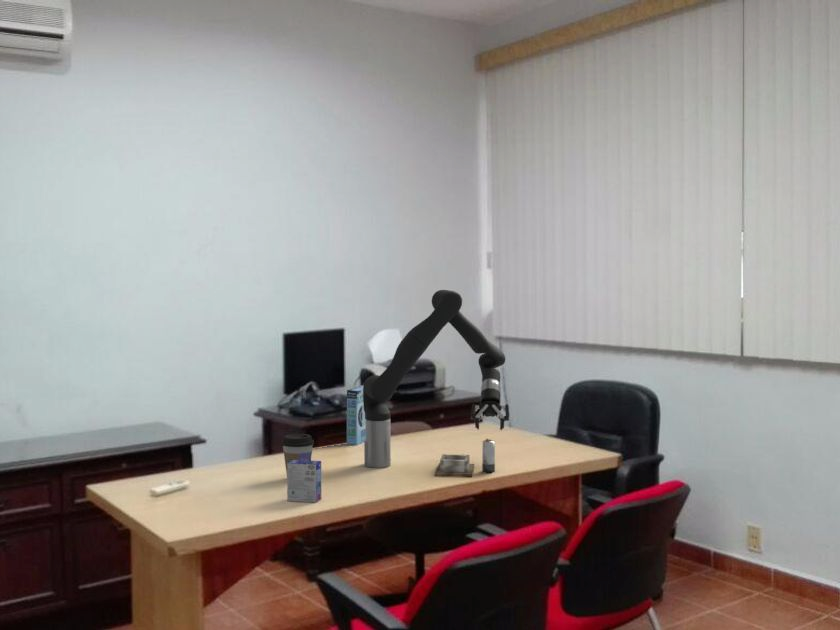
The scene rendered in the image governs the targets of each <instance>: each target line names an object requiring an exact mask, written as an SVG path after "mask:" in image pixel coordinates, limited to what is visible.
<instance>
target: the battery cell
mask: <svg viewBox="0 0 840 630" xmlns="http://www.w3.org/2000/svg"><path fill="white" fill-rule="evenodd" d="M495 443H496V441H495V440H492V438H485V439H484V440H482V461H481V466H482V469H481V472H482V471H483V472H482V473H484V472H486V473H485V474H493V473H492V472H494V473H496V459H495V457H496V453H495V452H496V449H495V447H496V444H495Z"/></svg>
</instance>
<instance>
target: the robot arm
mask: <svg viewBox="0 0 840 630" xmlns="http://www.w3.org/2000/svg"><path fill="white" fill-rule="evenodd" d="M431 305H432V307H433V311H432V312H431V313H430V315H429V316H427V317H426V318H425V319H423V320H422V321H421V322H419V323H418V324H417V325H415V326H414V327H412V328H411V329H410V330H409V331H408V332H407V333H406V334H405V335H404V337H403V339H401V341H400V342H399V343H398V346H397V348H396V350H395V353H394V354H393V357H392V360H391V361H390V364H389V365H388V366H387V368H386V369H385V370H383V372H382V373H381V374H380V375H376V374H374V375H370V376H368V377H367V378H366V379H365V381H364V383H363V385H364V386H363V405H364V412H365V418H366V440H365V441H364V449H363V450H364V457H363V458H364V460H363V461H364V467H367V468H373V469H374V468H376V469H378V468H379V469H381V468H387V467H390V466H391V460H392V459H391V453H392V452H391V445H392V444H391V411H390V409H389V407H388V400H390V399H391V397H392V396H393V395H394V394H395V391H396V390H397V388H398V387H399V385H400V383H401V382H402V380H403V379H404V377H406V375H407V374H408V373H409V371H410V370H411V369H412V367H413V366H414V365H415V364H416V363H417V361H418V360H420V359H421V357H422V355H424V353H425V352H426V351H427V349H428V348H429V346H430V345H431V344H432V342H433V341H434V340H435V339H436V338H437V336H438V335H439V333H440V332H441V331H443V328H444V327H445V326H446V325H447V324H450V325H451V327H453V328H454V329H455V330H456V331H457V332H458V334H459V335H460V336H461V337H462V339H463V340H464V341H465V342H466V344H467V345H468V346H469V347H470V349H471V350H472V352H474V353H475V354H479V355H480V354H481V355H480V356H479V358H478V366H479V369H480V372H481V386H480V403H479V405H477V404H475V403H472V404H471V409H470V410H471V412H470V420H471V421H475V422H474V427H475V429H476V430H478V431H479V430H480V420H481V419H483V418H484V417H492V418H493V417H495V418H497V419H498V420H499V427H500V428H499V430H500V431H502V430H503V429H504V428H505V422H507V421H510V411H509V410H510V409H509V404H508V403H506V404H505V405H501V395H502V391H501V389H502V388H501V373H500V370H499V369H497V368H499V367H502V366H503V365H504V364H505V363H506V354H504V352H503V351H502V349H501V348H499V347H498V346H497V345H495V344H494V343H492V342H491V341H490V340H489V339H487V337H486V336H485V335H484V334H483V332H482V331H481V330H480V328H478V326H476V324H475V323H473V322H471V320H470V319H468V318H467V317H466V316H465V315H464V314H463V312H461V311H460V310H461V308H462V306H463V298H462V296H461V294H460V293H459V292H456V291H454V290H448V289H439V290H437V291H435V293H433V295H432V296H431ZM478 410H479V411H478ZM501 410H503V412H504V413H505V415H503V413H502V412H501ZM477 411H478V413H476V412H477Z"/></svg>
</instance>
